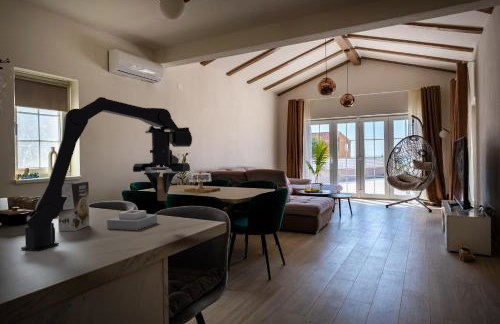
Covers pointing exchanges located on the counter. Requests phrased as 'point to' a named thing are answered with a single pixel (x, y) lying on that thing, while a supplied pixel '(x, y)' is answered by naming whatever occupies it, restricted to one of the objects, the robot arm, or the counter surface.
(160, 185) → the tapered wooden peg
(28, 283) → the counter surface
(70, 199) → the coffee box
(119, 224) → the button box
